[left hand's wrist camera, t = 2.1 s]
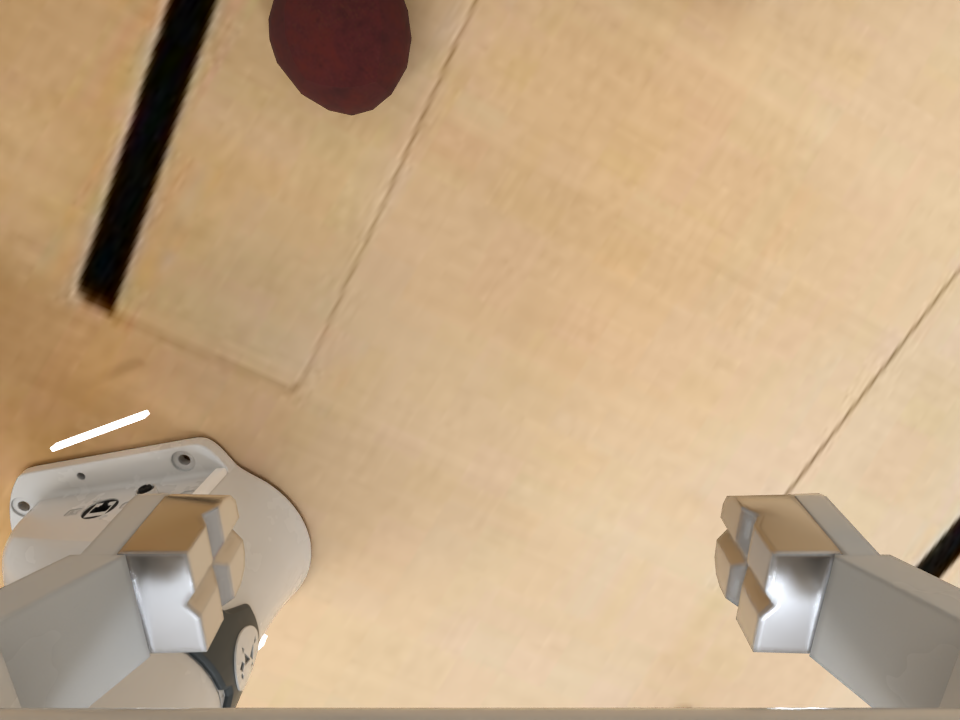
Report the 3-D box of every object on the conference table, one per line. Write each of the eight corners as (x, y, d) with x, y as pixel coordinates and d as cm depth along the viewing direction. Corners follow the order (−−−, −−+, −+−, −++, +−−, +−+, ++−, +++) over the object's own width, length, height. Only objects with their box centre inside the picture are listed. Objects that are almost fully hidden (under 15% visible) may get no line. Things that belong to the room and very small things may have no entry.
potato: (413, -36, 35) (397, -72, 28) (421, 114, 38) (408, 113, 31) (281, -33, 35) (234, -68, 28) (298, 116, 38) (260, 117, 31)
